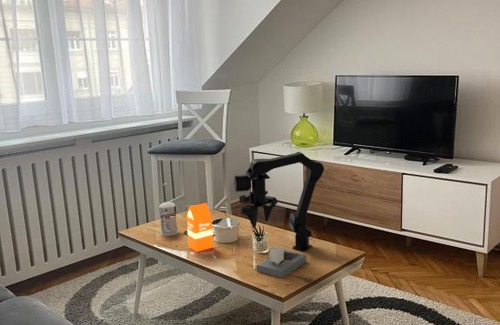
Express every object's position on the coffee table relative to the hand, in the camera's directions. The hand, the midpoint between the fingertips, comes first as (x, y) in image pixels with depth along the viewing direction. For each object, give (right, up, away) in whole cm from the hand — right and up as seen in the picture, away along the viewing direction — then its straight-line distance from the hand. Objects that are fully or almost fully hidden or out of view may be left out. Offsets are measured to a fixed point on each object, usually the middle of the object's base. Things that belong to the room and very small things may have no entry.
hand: (260, 224), depth 219 cm
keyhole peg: (+6, -16, -14) cm, 22 cm away
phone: (-29, -9, +30) cm, 42 cm away
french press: (-45, -8, +35) cm, 58 cm away
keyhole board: (+9, -15, -11) cm, 21 cm away
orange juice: (-26, -12, +13) cm, 32 cm away
